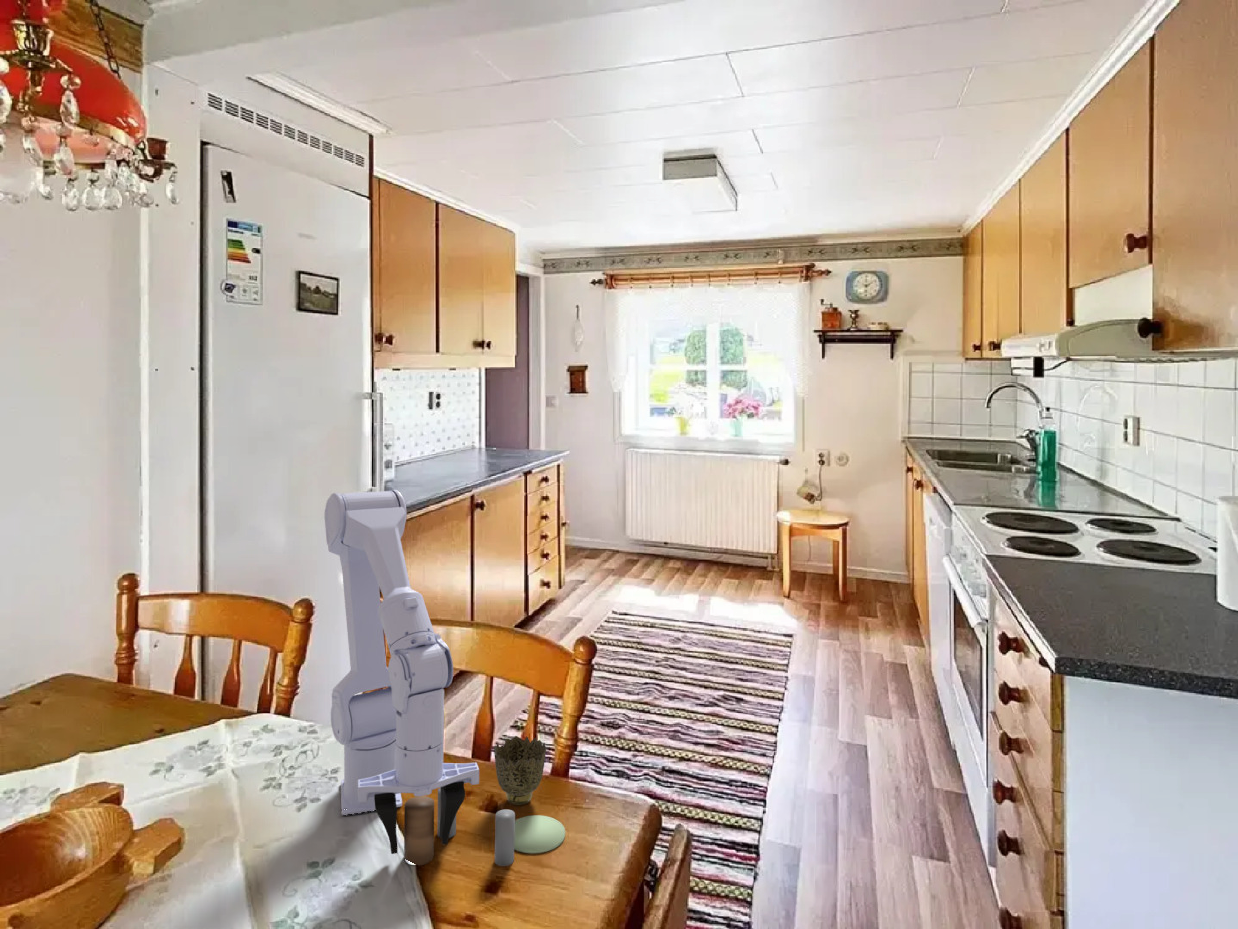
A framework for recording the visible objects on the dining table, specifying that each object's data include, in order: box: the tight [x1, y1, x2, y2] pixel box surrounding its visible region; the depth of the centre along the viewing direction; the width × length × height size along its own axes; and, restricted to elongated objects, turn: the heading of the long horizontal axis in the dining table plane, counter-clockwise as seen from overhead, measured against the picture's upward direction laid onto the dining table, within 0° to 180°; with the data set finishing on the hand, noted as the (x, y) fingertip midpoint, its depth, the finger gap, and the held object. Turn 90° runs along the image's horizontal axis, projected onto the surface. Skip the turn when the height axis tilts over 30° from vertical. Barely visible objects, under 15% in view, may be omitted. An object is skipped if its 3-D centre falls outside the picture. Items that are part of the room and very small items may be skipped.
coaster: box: [514, 814, 566, 854], centre depth 99 cm, size 8×8×1 cm
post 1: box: [436, 787, 457, 839], centre depth 98 cm, size 2×2×6 cm
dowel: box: [403, 795, 435, 867], centre depth 93 cm, size 4×4×7 cm
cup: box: [493, 735, 548, 806], centre depth 107 cm, size 8×7×8 cm
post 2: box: [494, 808, 516, 867], centre depth 93 cm, size 2×2×6 cm
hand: (419, 844), depth 93 cm, fingers open, 5 cm apart
